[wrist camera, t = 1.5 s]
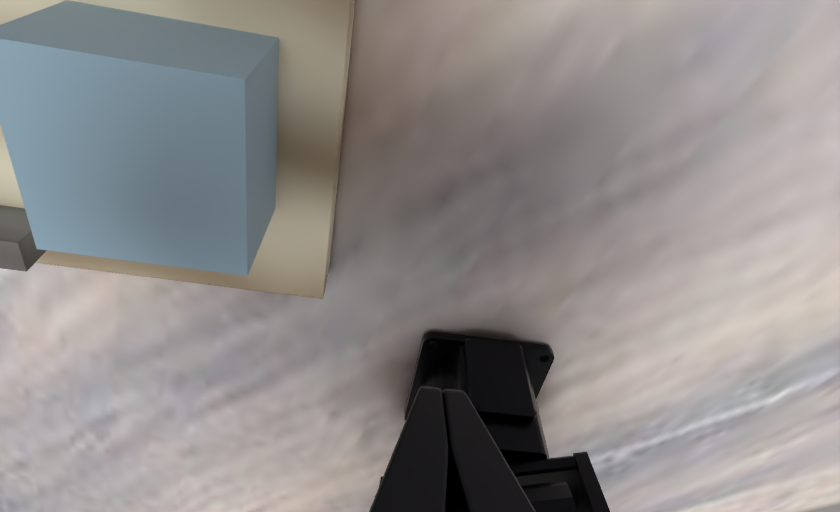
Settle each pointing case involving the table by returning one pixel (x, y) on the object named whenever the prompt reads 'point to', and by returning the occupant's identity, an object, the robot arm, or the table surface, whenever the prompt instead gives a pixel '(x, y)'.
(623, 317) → the table surface
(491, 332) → the table surface
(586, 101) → the table surface
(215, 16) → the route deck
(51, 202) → the blue block
